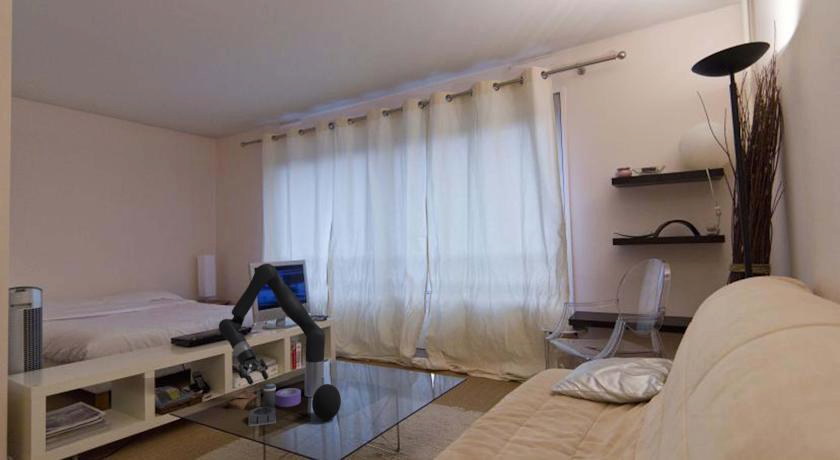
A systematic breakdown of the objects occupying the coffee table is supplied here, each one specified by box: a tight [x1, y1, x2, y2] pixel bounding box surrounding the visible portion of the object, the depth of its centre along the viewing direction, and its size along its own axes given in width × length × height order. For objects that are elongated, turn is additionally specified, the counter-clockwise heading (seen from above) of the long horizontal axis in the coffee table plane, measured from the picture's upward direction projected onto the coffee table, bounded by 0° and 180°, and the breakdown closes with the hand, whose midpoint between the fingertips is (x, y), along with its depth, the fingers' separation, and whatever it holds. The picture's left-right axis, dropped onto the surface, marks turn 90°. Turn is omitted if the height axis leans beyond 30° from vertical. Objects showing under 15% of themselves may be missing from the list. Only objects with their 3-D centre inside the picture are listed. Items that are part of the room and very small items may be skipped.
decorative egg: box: [311, 383, 342, 421], centre depth 179 cm, size 12×12×15 cm
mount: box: [248, 406, 277, 427], centre depth 177 cm, size 11×11×4 cm
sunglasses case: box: [226, 389, 259, 410], centre depth 196 cm, size 18×7×7 cm, turn 0°
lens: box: [262, 383, 277, 409], centre depth 188 cm, size 5×5×11 cm
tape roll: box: [275, 387, 302, 408], centre depth 198 cm, size 12×12×5 cm
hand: (259, 381), depth 192 cm, fingers open, 8 cm apart
